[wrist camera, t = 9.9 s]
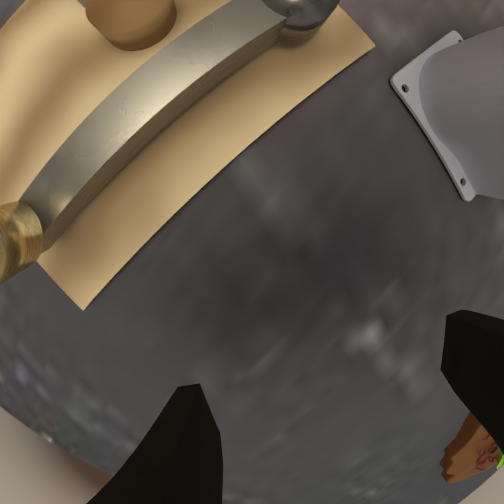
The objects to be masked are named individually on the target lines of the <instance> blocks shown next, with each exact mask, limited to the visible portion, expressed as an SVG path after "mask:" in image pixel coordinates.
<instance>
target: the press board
mask: <svg viewBox="0 0 504 504" xmlns="http://www.w3.org/2000/svg"><path fill="white" fill-rule="evenodd" d="M230 1H231V0H174V3H175V6H176V11H177V17H176V21H175V24H174V26H173V28H172V29H171V31H170V32H169V33H168V35H167V36H166V37H165V38H164V39H162V40H161V41H160V42H158V43H157V44H155V45H153V46H151V47H149V48H146V49H143V50H139V51H124V50H121V49H118V48H116V47H114V46H113V45H112V44H111V43H110V42H109V41H108V40H107V39H106V38H105V37H104V36H103V35H102V34H101V33H100V32H99V31H98V30H97V29H96V28H95V27H94V26H93V25H92V24H91V23H90V22H89V21H88V19H87V16H86V12H85V8H84V7H83V6H82V5H81V4H80V3H79V2H78V1H77V0H26V1H25V2H24V3H23V4H22V5H21V6H20V8H19V9H18V10H17V11H16V12H15V13H14V14H13V15H12V16H11V18H10V19H9V20H8V21H7V22H6V23H5V25H4V26H3V27H2V28H1V29H0V205H2V204H6V203H10V202H15V201H19V199H20V198H21V196H22V195H23V193H24V192H25V191H26V189H27V188H28V187H29V185H30V184H31V182H32V181H33V180H34V178H35V177H36V176H37V175H38V173H39V172H40V171H41V169H42V168H43V167H44V166H45V164H46V163H47V162H48V161H49V159H50V158H51V157H52V156H53V154H54V153H55V152H56V151H57V150H58V148H59V147H60V146H61V145H62V144H63V143H64V141H65V140H66V139H67V138H68V137H69V136H70V135H71V134H72V132H73V131H74V130H75V129H76V128H77V127H78V126H79V125H80V124H81V123H82V122H83V120H84V119H85V118H86V117H87V116H88V115H89V114H90V113H91V112H92V111H93V110H94V109H95V108H96V107H97V106H98V105H99V104H100V103H101V102H102V101H103V100H104V99H105V98H106V97H107V96H108V95H109V94H110V93H111V92H112V91H113V90H114V89H116V88H117V87H118V86H119V85H120V84H121V83H122V82H123V81H124V80H125V79H126V78H128V77H129V76H130V75H131V74H132V73H133V72H134V71H135V70H137V69H138V68H139V67H140V66H141V65H142V64H144V63H145V62H146V61H147V60H148V59H150V58H151V57H152V56H153V55H155V54H156V53H157V52H158V51H160V50H161V49H162V48H163V47H165V46H166V45H167V44H169V43H170V42H171V41H172V40H174V39H175V38H176V37H178V36H179V35H181V34H182V33H183V32H185V31H186V30H187V29H189V28H190V27H192V26H193V25H194V24H196V23H197V22H199V21H200V20H202V19H203V18H205V17H206V16H208V15H209V14H211V13H212V12H214V11H215V10H217V9H219V8H220V7H222V6H223V5H225V4H227V3H228V2H230ZM375 46H376V45H375V44H374V43H373V42H372V41H371V40H370V38H369V37H368V36H367V35H366V34H365V33H364V32H363V31H362V30H361V28H360V27H359V26H358V25H357V24H356V23H355V22H354V21H353V20H352V19H351V18H350V17H349V16H348V15H347V14H346V13H345V12H344V11H343V10H342V9H341V8H340V7H339V6H338V5H337V7H336V9H335V10H334V11H333V12H332V14H331V15H330V16H329V18H328V19H327V20H326V22H325V23H324V24H323V26H322V27H321V28H320V29H319V31H318V32H317V33H316V35H315V36H314V37H313V38H311V39H310V40H308V41H306V42H303V43H300V44H294V45H287V44H280V43H275V44H273V45H272V46H270V47H269V48H267V49H266V50H264V51H263V52H261V53H260V54H258V55H257V56H255V57H254V58H253V59H251V60H250V61H248V62H247V63H245V64H244V65H243V66H241V67H240V68H238V69H237V70H236V71H234V72H233V73H232V74H230V75H229V76H228V77H226V78H225V79H224V80H222V81H221V82H220V83H218V84H217V85H216V86H214V87H213V88H212V89H211V90H209V91H208V92H207V93H205V94H204V95H203V96H202V97H200V98H199V99H198V100H197V101H195V102H194V103H193V104H192V105H191V106H189V107H188V108H187V109H186V110H185V111H183V112H182V113H181V114H180V115H179V116H178V117H176V118H175V119H174V120H173V121H172V122H171V123H169V124H168V125H167V126H166V127H165V128H164V129H163V130H162V131H160V132H159V133H158V134H157V135H156V136H155V137H154V138H153V139H152V140H151V141H149V142H148V143H147V144H146V145H145V146H144V147H143V148H142V149H141V150H140V151H139V152H138V153H137V154H136V155H135V156H134V157H133V158H132V159H130V160H129V161H128V162H127V163H126V164H125V165H124V166H123V167H122V168H121V169H120V170H119V171H118V172H117V173H116V174H115V175H114V177H113V178H112V179H111V180H110V181H109V182H108V183H107V184H106V185H105V186H104V187H103V188H102V189H101V190H100V191H99V192H98V193H97V194H96V195H95V197H94V198H93V199H92V200H91V201H90V202H89V203H88V204H87V205H86V207H85V208H84V209H83V210H82V211H81V212H80V213H79V214H78V216H77V217H76V218H75V219H74V220H73V221H72V223H71V224H70V225H69V226H68V227H67V228H66V230H65V231H64V232H63V233H62V234H61V236H60V237H59V238H58V239H57V241H56V242H55V243H54V244H53V246H52V247H51V248H50V249H49V250H47V251H45V252H43V253H41V254H40V256H39V258H38V259H37V262H38V263H39V264H40V265H41V266H42V268H43V269H44V270H45V271H46V272H47V273H48V274H49V275H50V277H51V278H52V279H53V280H54V281H55V282H56V283H57V284H58V285H59V286H60V287H61V289H62V290H63V291H64V292H65V293H66V294H67V295H68V296H69V297H70V298H71V299H72V300H73V301H74V302H75V303H76V304H77V305H78V306H79V307H80V308H81V309H82V310H84V309H85V308H86V306H87V305H88V304H89V303H90V302H91V301H92V300H93V299H94V297H95V296H96V295H97V294H98V293H99V292H100V291H101V290H102V289H103V287H104V286H105V285H106V284H107V283H108V282H109V281H110V280H111V279H112V278H113V276H114V275H115V274H116V273H117V272H118V271H119V270H120V269H121V268H122V267H123V266H124V265H125V264H126V263H127V262H128V260H129V259H130V258H131V257H132V256H133V255H134V254H135V253H136V252H137V251H138V250H139V249H140V248H141V247H142V246H143V245H144V244H145V243H146V242H147V241H148V240H149V239H150V238H151V237H152V236H153V235H154V234H155V233H156V232H157V231H158V230H159V229H160V228H161V227H162V226H163V225H164V224H165V223H166V222H167V221H168V220H169V219H170V218H171V217H172V216H173V215H174V214H175V213H176V212H177V211H178V210H179V209H180V208H181V207H182V206H183V205H184V204H185V203H186V202H187V201H188V200H189V199H190V198H191V197H192V196H194V195H195V194H196V193H197V192H198V191H199V190H200V189H201V188H202V187H203V186H204V185H205V184H206V183H207V182H208V181H210V180H211V179H212V178H213V177H214V176H215V175H216V174H217V173H218V172H219V171H220V170H222V169H223V168H224V167H225V166H226V165H227V164H228V163H229V162H230V161H232V160H233V159H234V158H235V157H236V156H237V155H238V154H239V153H241V152H242V151H243V150H244V149H245V148H246V147H247V146H249V145H250V144H251V143H252V142H253V141H254V140H256V139H257V138H258V137H259V136H260V135H261V134H263V133H264V132H265V131H266V130H267V129H268V128H270V127H271V126H272V125H273V124H274V123H276V122H277V121H278V120H279V119H280V118H282V117H283V116H284V115H285V114H286V113H288V112H289V111H290V110H291V109H293V108H294V107H295V106H296V105H298V104H299V103H300V102H301V101H303V100H304V99H305V98H306V97H308V96H309V95H310V94H311V93H313V92H314V91H315V90H316V89H318V88H319V87H320V86H322V85H323V84H324V83H326V82H327V81H328V80H329V79H331V78H332V77H333V76H335V75H336V74H337V73H339V72H340V71H341V70H343V69H344V68H345V67H347V66H348V65H350V64H351V63H352V62H354V61H355V60H356V59H358V58H359V57H361V56H362V55H363V54H365V53H366V52H368V51H369V50H370V49H372V48H373V47H375Z"/></svg>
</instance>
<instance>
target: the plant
mask: <svg viewBox="0 0 504 504" xmlns="http://www.w3.org/2000/svg"><path fill="white" fill-rule="evenodd" d="M445 452H446V454H445V456H444V457H443V459H442V460H441V461H440V464H441V466H442V468H443V469H444V471H443V472H442V475H443V477H444V479H445V481H446V482H447V483H458V482H461V481H463V480H465V479H467V478H469V477H471V476H474V475H476V474H478V473H481V472H483V471H486V470H487V469H489V468H491V467H492V466H494V465H495V464H496V463H497V462H498V463H497V464H498V465H497V470H498V468H500V467H501V465H502V464H503V462H504V455H503V453H502V451H501V449H500V448H499V446H498V445H497V444H496V442H495V441H494V439H493V438H492V437H491V436H490V434H489V433H488V432H487V431H486V429H485V428H484V427H483V426H482V425H481V423H480V422H479V421H478V420H477V419H476V417H475V416H474V415H473V414H472V413H471V412H470V413H469V415H468V416H467V418H466V419H465V421H464V423H463V425H462V427H461V429H460V431H459V433H458V435H457V436H456V438H455V439H454V440H453V441H452V442H451V443H450V444H449V445H448V446H447V447H446V448H445Z"/></svg>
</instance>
